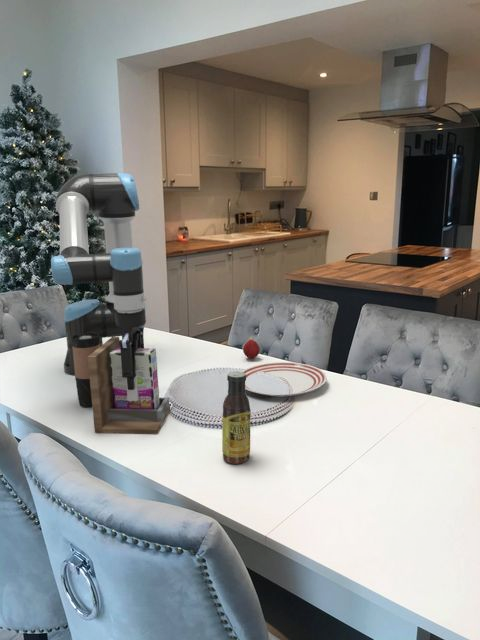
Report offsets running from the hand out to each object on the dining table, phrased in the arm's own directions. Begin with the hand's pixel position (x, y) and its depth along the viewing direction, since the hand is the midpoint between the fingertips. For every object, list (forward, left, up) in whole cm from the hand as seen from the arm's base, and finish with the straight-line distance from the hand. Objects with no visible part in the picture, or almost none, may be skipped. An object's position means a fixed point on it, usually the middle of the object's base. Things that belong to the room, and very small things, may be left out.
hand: (136, 395), depth 138 cm
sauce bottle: (+20, +29, -7) cm, 35 cm away
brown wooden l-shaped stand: (0, 0, -6) cm, 6 cm away
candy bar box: (0, 0, -4) cm, 4 cm away
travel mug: (-10, -16, -7) cm, 20 cm away
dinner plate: (-26, +38, -7) cm, 46 cm away
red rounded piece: (-51, +27, -7) cm, 58 cm away
